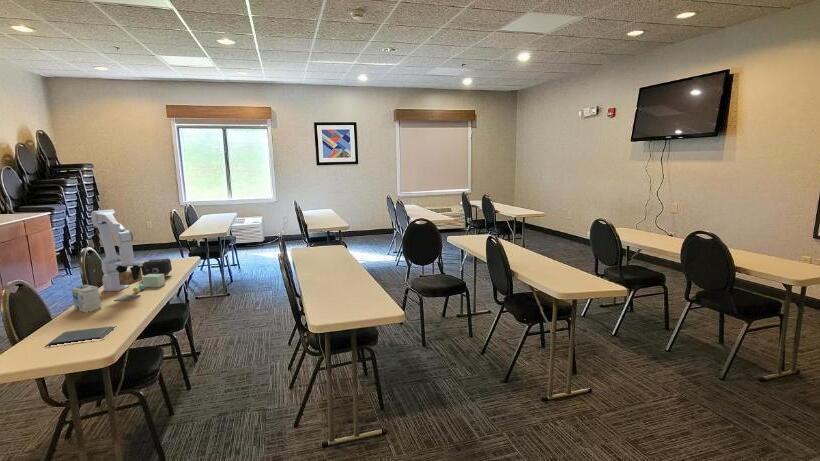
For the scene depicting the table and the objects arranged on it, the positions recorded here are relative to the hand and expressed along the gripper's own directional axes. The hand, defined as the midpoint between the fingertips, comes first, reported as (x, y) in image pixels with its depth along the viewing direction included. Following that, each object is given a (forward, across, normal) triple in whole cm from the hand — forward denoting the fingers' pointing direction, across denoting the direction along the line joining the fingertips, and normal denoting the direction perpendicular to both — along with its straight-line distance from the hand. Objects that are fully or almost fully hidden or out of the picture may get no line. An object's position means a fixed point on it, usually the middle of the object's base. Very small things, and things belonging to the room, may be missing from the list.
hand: (130, 279), depth 214 cm
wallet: (+10, +17, -50) cm, 54 cm away
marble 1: (+8, -1, +4) cm, 10 cm away
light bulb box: (+9, -8, -20) cm, 23 cm away
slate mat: (+8, +1, -5) cm, 10 cm away
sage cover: (+8, 0, +16) cm, 18 cm away
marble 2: (+8, -1, +8) cm, 12 cm away
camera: (+9, -9, +32) cm, 35 cm away
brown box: (+2, 0, 0) cm, 2 cm away
